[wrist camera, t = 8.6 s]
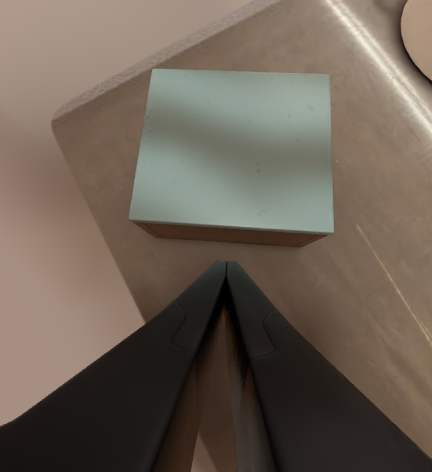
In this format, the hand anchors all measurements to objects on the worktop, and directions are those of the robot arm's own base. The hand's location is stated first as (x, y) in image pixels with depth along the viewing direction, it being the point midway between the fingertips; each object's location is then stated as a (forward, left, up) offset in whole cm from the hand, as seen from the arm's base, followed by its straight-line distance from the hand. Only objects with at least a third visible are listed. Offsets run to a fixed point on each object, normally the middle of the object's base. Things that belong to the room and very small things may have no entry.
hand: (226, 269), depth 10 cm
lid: (+7, +7, -7) cm, 12 cm away
